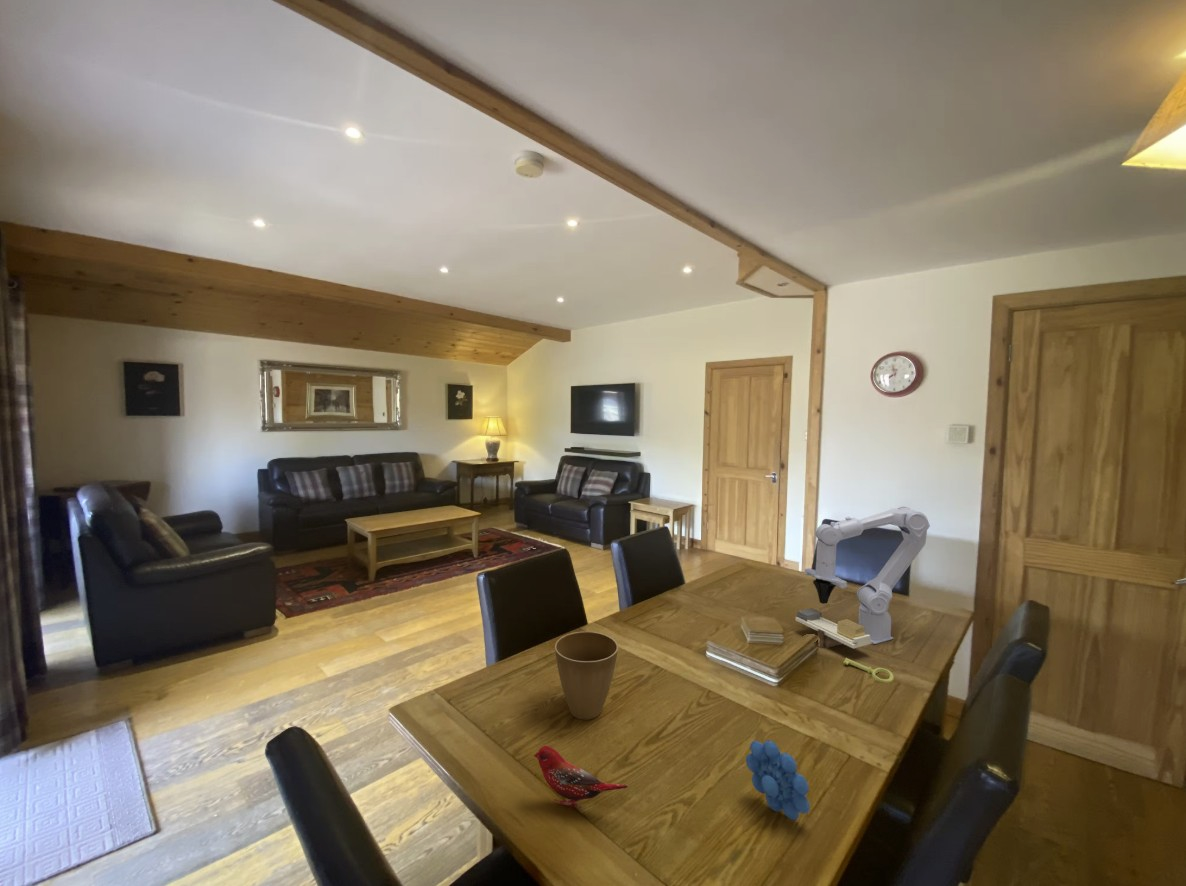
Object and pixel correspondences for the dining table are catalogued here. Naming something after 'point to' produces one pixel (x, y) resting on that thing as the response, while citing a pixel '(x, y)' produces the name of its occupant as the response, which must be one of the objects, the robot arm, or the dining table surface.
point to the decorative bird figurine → (570, 778)
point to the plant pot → (586, 671)
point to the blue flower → (778, 779)
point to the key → (871, 671)
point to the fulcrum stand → (827, 640)
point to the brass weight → (850, 629)
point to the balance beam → (829, 628)
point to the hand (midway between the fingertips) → (823, 602)
